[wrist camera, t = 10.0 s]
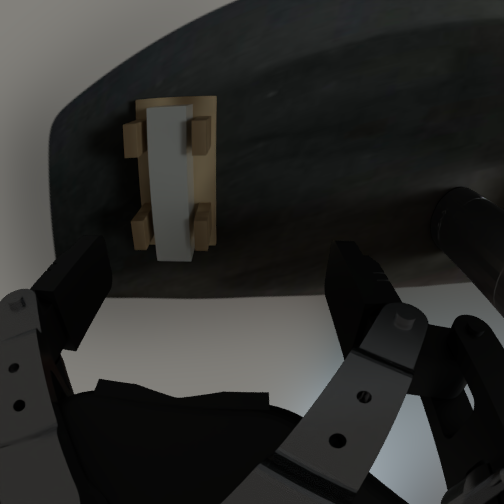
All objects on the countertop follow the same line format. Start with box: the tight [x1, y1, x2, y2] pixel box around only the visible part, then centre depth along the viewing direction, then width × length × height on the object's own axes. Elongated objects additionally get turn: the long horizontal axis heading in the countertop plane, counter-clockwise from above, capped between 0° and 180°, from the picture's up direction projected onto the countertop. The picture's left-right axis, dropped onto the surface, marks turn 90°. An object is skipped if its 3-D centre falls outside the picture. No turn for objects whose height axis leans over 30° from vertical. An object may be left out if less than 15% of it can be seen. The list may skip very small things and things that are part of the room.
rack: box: [123, 96, 217, 251], centre depth 30 cm, size 8×16×6 cm, turn 178°
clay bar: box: [147, 104, 195, 261], centre depth 30 cm, size 4×15×4 cm, turn 178°
